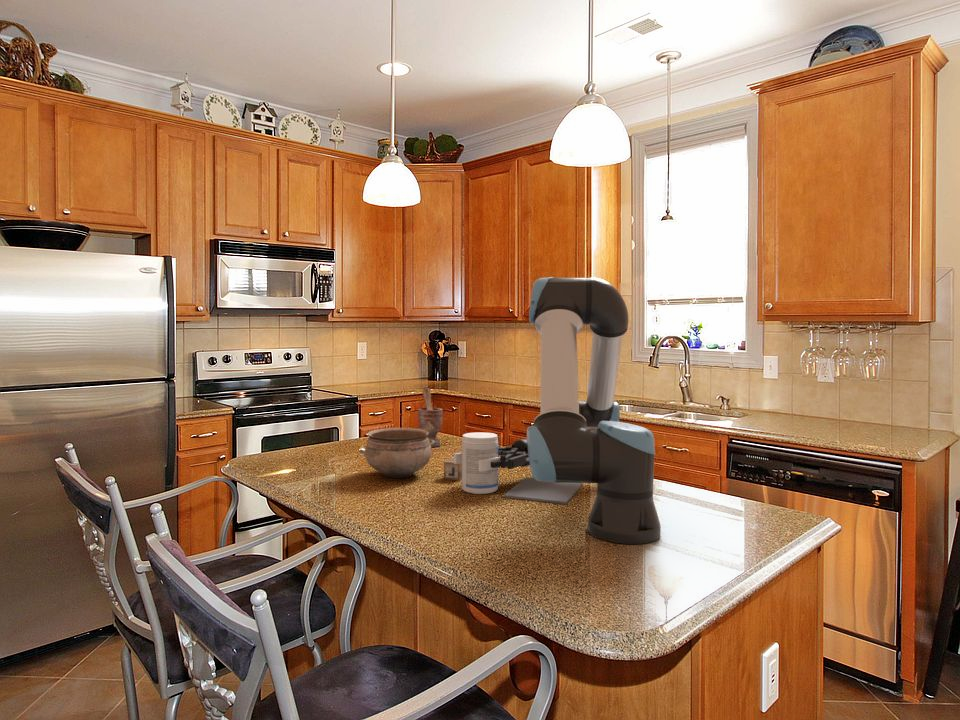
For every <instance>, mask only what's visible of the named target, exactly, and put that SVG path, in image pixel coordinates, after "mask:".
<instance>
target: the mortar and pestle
mask: <svg viewBox="0 0 960 720" xmlns="http://www.w3.org/2000/svg"><path fill="white" fill-rule="evenodd" d="M422 395H423V400H424V404H425V407H419V408H417V416H418V419H417V420H418V421H417V422H418V429H421V430H425V431H428V432H429V435H428V436H427V437H428V439H429V440H434V442H435V443H434V444H433V446H431V448H436V447H440V446H441V442H440V439H438V438H437V436H438V433H440V431H441V429H442V425H443V408H439V407H433V405H432V393H431V389H430V388H429V387H424V388H423V389H422Z"/></svg>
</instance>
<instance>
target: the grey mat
mask: <svg viewBox="0 0 960 720" xmlns="http://www.w3.org/2000/svg"><path fill="white" fill-rule="evenodd" d="M582 486H583V483H563V482H555V483H551V482H546V481H538V480H536V479H534V478H533V477H527V476H526V477H524V478H523V479H522V480H521V481H519V482H518V483H517V484H516V485H514V486H512V488H511V489H510V490H509V491H507V492H506V493H505V494H503V498H507V499H517V500H525V501H533V502H540V503H541V502H542V503H550V504H560V505H568V503H569V502H570V501H571V499H572V498H573V497H574V496H575V494H577V492H578V491H579V490H580V488H581V487H582Z"/></svg>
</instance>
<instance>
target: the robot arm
mask: <svg viewBox="0 0 960 720" xmlns="http://www.w3.org/2000/svg"><path fill="white" fill-rule="evenodd" d="M627 307H628V306H627V304H626V303H625V299H624V298H623V296H622V294H621V293H620V292H619V290H618V289H617V288H616V287H615V286H614V285H612V284H611V283H610V282H609V281H606V280H604V279H601V278H597V277H553V276H549V277H539V278H537V279H536V280H535V281H534V282H533V285H532V289H531V296H530V305H529V310H528V311H529V312H528V321H529V323H530V324H531V325H534V327H535V331H537V333H538V334H539V335H540V405H539V407H540V409H539V410H540V412H539V414H538V415H537V416H536V417H534V419H533V422H532V423H533V425H531V426H528V427H527V428H526V438H521V439H517V440H515V441H514V442H513V443H512V444H511V446H510V445H509V446H504V447H502V446H501V445H498V457H496V458H490V459H484V460H479V471H486V470H492V469H497V468H498V469H500V468H501V469H505V468H507V470H513V469H515V468H524V467H529V469H530V474H531V476H532V478H534V479H536V480H538V481H546V482H551V483H555V482H563V483H582V484H597V485H596V486H597V487H596V496H595V499H594V503H593V504H592V508H591V510H590V514H589V515H588V519H587V531H588V533H589V534H590V535H591V536H593V537H595V538H598V539H600V540H602V541H606V542H611V543H616V544H617V543H618V544H626V545H640V544H641V545H642V544H648V543H652V542H656V541H658V540H659V539H660V537H661V532H662V531H661V523H660V522H661V521H660V519H659V516H658V511H657V508H656V506H655V505H656V504H655V502H654V481H655V480H654V472H655V455H656V450H655V446H656V445H655V436H654V434H653V432H652V431H651V430H650V429H648V428H646V427H644V426H640V425H636V424H632V423H627V422H622V421H620V414H621V412H620V411H621V410H620V404H619V403H618V402H617V401H614V400H615V393H616V386H617V379H618V371H619V366H620V365H619V364H620V357H621V350H622V349H621V348H622V341H623V337H624V335H626V333H627V332H628V326H629V312H628V308H627ZM586 325H587V326H589V329H590V331H591V332H592V340H591V350H590V351H591V352H590V361H589V371H588V381H587V392H586V400H584V401H583V400H580V397H579V395H580V394H579V367H578V339H577V336H578V333H580V332H581V330H582V328H583V326H586ZM453 458H454V464H460V463H462V451H461V452H457V453H456V452H455V453H454V454H453Z"/></svg>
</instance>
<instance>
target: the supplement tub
mask: <svg viewBox="0 0 960 720" xmlns="http://www.w3.org/2000/svg"><path fill="white" fill-rule="evenodd" d="M498 446H499V439H498V434H496V433H492V432H480V431H479V432H476V431H475V432H466V433H464V434H462V439H461V452H462V480H461V488H462V490H463V491H464V492H466V493H469V494H474V495H486V494H492V493H494V492H495V493H496V492H497V491H498V489H499V468H497V469H492V470H486V471H479V460H484V459H490V458H496V457H498Z"/></svg>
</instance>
